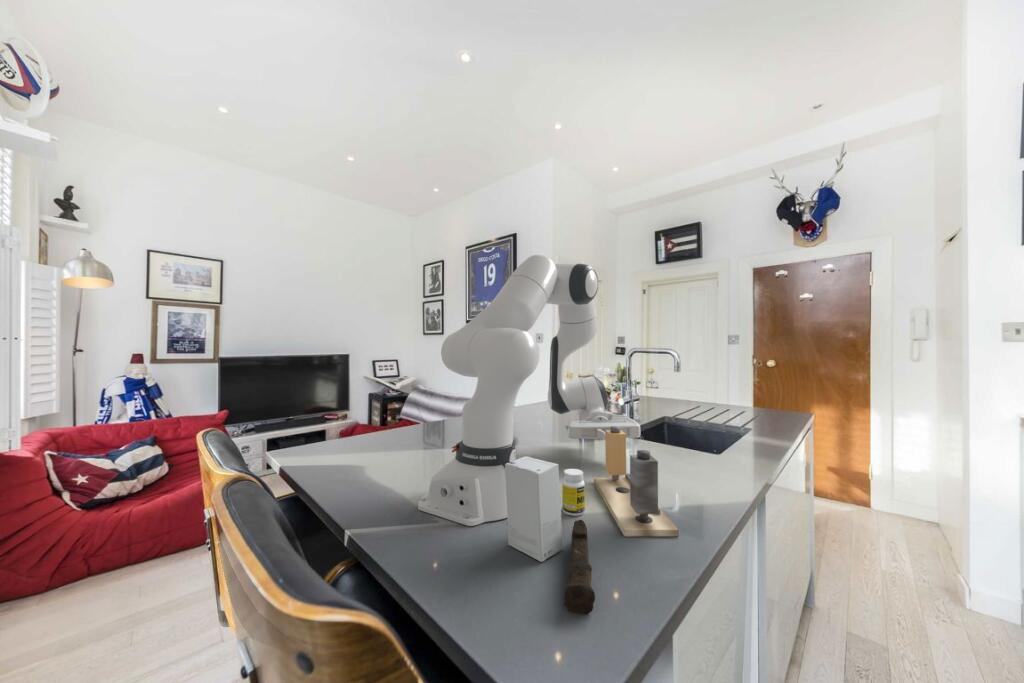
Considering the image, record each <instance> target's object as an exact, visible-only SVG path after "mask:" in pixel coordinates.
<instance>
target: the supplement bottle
mask: <svg viewBox="0 0 1024 683" xmlns="http://www.w3.org/2000/svg"><path fill="white" fill-rule="evenodd" d="M561 484H562V486H561V488H562V490H561V492H562V493H561V494H562V497H561V500H562V502H561V505H562V506H561V508H562V509H561V511H562V512H563V513H564V514H565V515H568V516H573V517H578V516H582V515H583V514H584V513H585V510H586V502H585V501H586V495H585V494H586V492H585V491H586V488H585V486H586V484H585V481H584V472H583V470H581V469H578V468H567V469H564V471H563V480H562V483H561Z"/></svg>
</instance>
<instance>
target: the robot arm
mask: <svg viewBox="0 0 1024 683" xmlns="http://www.w3.org/2000/svg"><path fill="white" fill-rule="evenodd" d="M598 290H599V277H598V274H597V272H596V270H595V269H594V268H593V267H592V266H591V265H588V264H586V263H585V264H584V263H576V264H571V263H554V261H553V260H552V259H551V258H549V257H547V256H545V255H542V254H533V255H531V256H529V257H528V258H526V259H525V260H523V261H522V263H521V264H520V265H518V267H517V268H516V269H515V270H514V271H513V272H512V273H511V275H510V276H509V277H508V279H507V280H506V281H505V283H504V285H503V286H502V287H501V288H500V290H499V292H498V293H497V294H496V296H495V297H494V298H493V300H492V301H491V302H490V303H489V304H488V305H487V306H486V307H484V309H482V311H480V312H479V313H477V315H476V316H474V317H473V318H472V319H471V320H470V321H469V322H467V323H466V324H465V325H464V326H462V327H461V328H460V329H458V330H457V331H454V332H452V333H451V334H449V335H448V336H447V337H446V338H445V339H444V341H443V342H442V345H441V352H440V355H441V360H442V362H443V364H444V366H445V367H446V369H448V370H449V371H451V372H454V373H456V374H458V375H459V376H463V377H469V378H477V383H476V387H475V390H474V393H473V395H472V397H471V398H470V399H468V400H467V401H466V402H465V403H464V405H463V407H462V417H461V419H462V421H461V422H462V439H461V441H459V442H457V443H456V444H455V445H454V446H452V447H451V449H452V450H451V453H455V455H454V456H455V457H454V458H453V459H451V460H450V461H449V462H447V464H445V465H444V466H443V467H441V468H440V469H439V470H438V471H436V473H434V475H433V476H432V478H431V480H430V483H429V487H428V491H427V492H426V493H425V494H423V495H422V497H421V498H419V500H418V502H417V510H419V511H421V512H425V513H427V514H430V515H431V514H432V515H433V516H436V517H440V518H443V519H446V520H449V521H451V522H455V523H458V524H461V525H464V526H468V527H473V526H478V525H480V524H484V523H486V522H488V523H489V522H494V521H499V520H505V519H506V518H507V498H506V476H505V464H506V463H509V462H511V461H514V460H517V457H516V456H517V454H516V452H517V451H516V441H515V440H514V414H515V413H514V411H515V410H514V409H515V406H516V405H515V404H516V400H517V397H518V393H519V391H520V389H521V388H522V385H523V384H524V382H526V380H527V379H528V378H529V377H530V376H531V375H532V374H533V373H535V370H536V369H537V367H538V364H539V361H540V347H539V344H538V342H537V340H536V338H535V336H533V334H532V333H531V332H529V331H530V330H531V329H532V328H533V327H534V325H535V323H536V322H537V320H538V318H539V316H540V314H541V313H542V312H543V310H544V308H545V306H546V305H547V304H548V305H549V304H550V305H555V306H556V305H557V308H558V318H559V328H558V331H557V334H556V335H555V336H554V337H553V338H552V339H551V344H550V352H549V353H550V355H549V378H548V380H549V381H548V383H549V384H548V390H547V402H548V405H549V407H550V409H551V410H552V411H554V413H555V412H556V413H557V414H559V415H563V414H566V413H567V414H568V413H570V412H572V411H577V412H576V414H577V415H576V417H577V420H571V421H569V422H568V423H567V424H565V425H564V429H565V430H567V433H568V434H567V435H568V438H570V439H573V440H577V439H578V440H579V439H580V440H583V439H584V440H586V439H592V440H595V441H605V430H610V427H611V426H618V427H620V430H621V431H623V432H624V433H625V434H626V439H639V438H640V437H641V425H640V423H639V422H637V421H636V420H634V419H633V418H631V417H628V414H626V413H620V412H611V411H608V410H606V409H607V408H608V406H609V400H608V399H609V398H608V393H607V389H606V387H605V384H603V381H601V380H600V379H599V377H596V376H594V375H593V376H588V377H581V378H577V379H573V380H572V379H571V380H568V381H564V365H565V361H566V360H567V358H569V356H571V355H572V354H573V353H574V352H577V351H578V350H580V349H582V348H583V347H585V346H587V345H588V344H589V343H590V342H592V340H593V339H594V337H596V333H597V331H598V319H597V318H598V317H597V311H596V306H595V305H596V304H595V301H594V300H595V297H596V295H597V294H598Z"/></svg>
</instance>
